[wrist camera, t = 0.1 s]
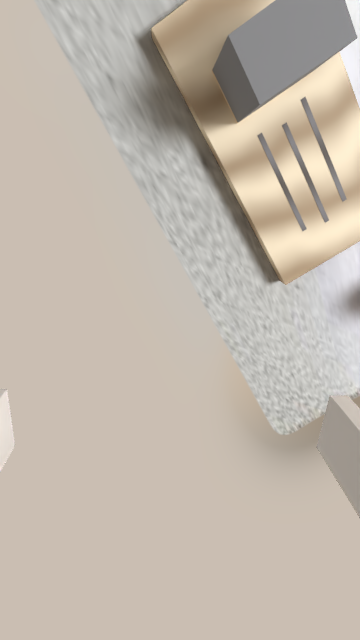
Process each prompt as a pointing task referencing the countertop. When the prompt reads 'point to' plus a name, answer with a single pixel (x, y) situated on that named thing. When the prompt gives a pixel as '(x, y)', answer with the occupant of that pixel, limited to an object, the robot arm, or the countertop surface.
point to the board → (274, 140)
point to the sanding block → (279, 50)
